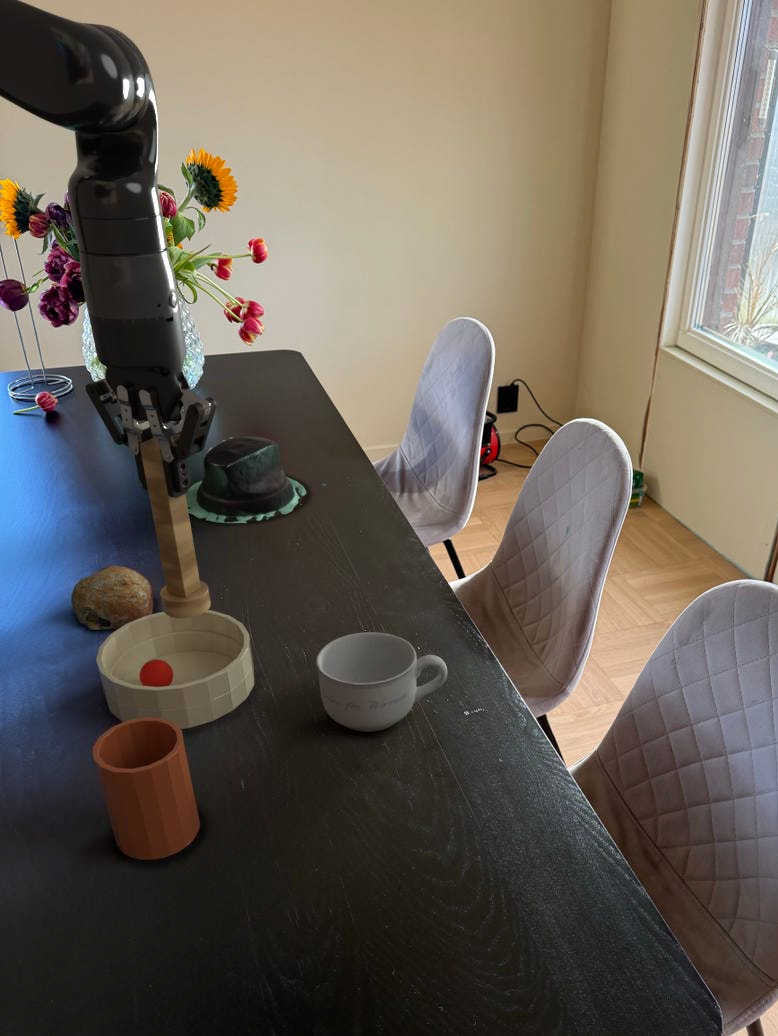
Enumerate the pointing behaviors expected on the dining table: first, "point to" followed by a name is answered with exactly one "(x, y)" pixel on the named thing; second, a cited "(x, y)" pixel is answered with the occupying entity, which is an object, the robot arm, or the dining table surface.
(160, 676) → the tomato
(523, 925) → the dining table surface
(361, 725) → the teacup
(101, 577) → the bread roll
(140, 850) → the crock
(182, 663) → the bowl
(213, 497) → the dark fedora hat
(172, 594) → the wooden pestle
